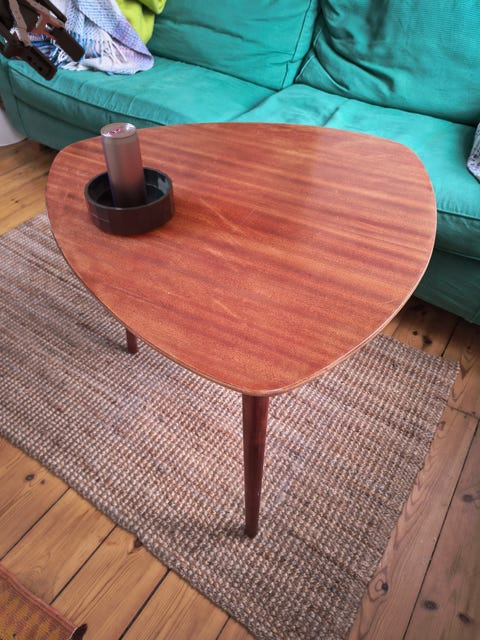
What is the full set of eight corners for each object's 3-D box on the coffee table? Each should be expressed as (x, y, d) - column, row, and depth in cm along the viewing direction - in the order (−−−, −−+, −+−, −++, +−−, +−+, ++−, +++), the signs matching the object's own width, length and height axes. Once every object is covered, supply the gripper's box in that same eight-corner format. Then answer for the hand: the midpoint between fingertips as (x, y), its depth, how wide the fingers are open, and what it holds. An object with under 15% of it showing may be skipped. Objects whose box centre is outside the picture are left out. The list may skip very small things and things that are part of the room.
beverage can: (109, 211, 85) (91, 129, 74) (135, 199, 88) (122, 118, 78) (129, 224, 82) (114, 140, 72) (155, 211, 85) (144, 129, 75)
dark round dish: (88, 241, 79) (80, 212, 75) (93, 195, 90) (87, 168, 86) (177, 233, 81) (175, 205, 77) (172, 190, 92) (170, 163, 88)
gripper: (-70, -65, 50) (57, 61, 57) (2, -75, 60) (103, 32, 67) (-91, -7, 54) (30, 103, 61) (-20, -26, 64) (77, 70, 71)
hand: (68, 66), depth 64 cm, fingers open, 8 cm apart
